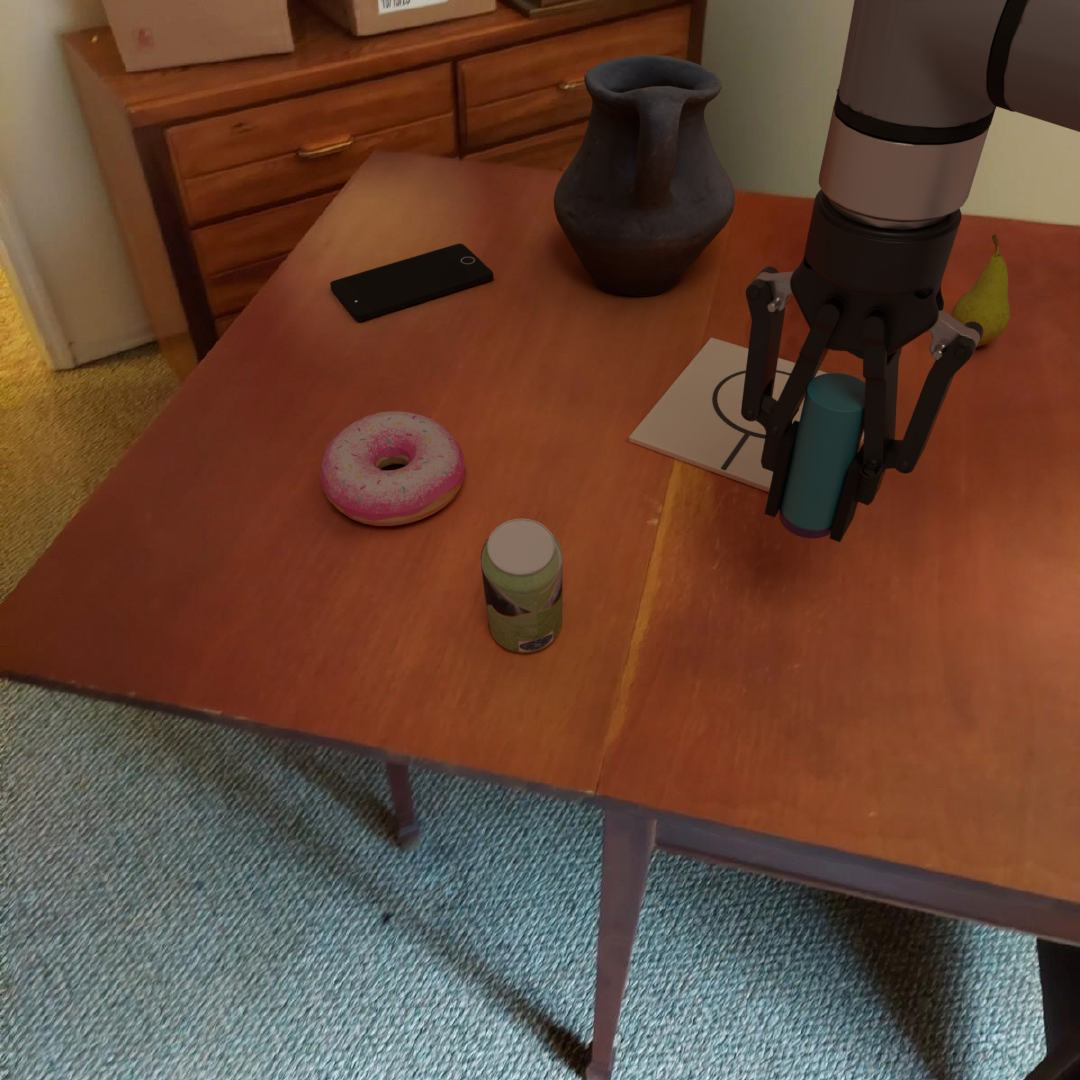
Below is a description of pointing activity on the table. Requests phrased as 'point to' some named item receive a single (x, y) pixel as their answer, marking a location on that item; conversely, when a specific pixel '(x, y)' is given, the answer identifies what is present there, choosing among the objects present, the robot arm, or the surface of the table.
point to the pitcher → (644, 175)
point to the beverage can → (523, 585)
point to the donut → (392, 493)
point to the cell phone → (410, 281)
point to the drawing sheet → (713, 416)
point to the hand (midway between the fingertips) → (808, 515)
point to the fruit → (987, 300)
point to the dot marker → (823, 453)
